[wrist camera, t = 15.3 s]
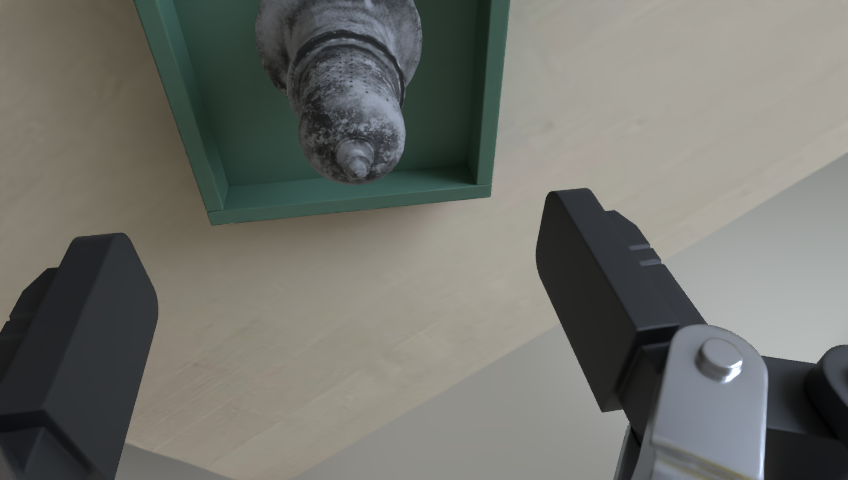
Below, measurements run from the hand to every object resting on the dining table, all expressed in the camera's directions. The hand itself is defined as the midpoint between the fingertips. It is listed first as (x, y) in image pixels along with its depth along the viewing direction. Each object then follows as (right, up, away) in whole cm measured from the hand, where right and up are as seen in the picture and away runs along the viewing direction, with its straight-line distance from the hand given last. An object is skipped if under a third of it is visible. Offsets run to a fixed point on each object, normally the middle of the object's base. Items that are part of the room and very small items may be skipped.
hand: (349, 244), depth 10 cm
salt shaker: (-2, +10, +11) cm, 15 cm away
